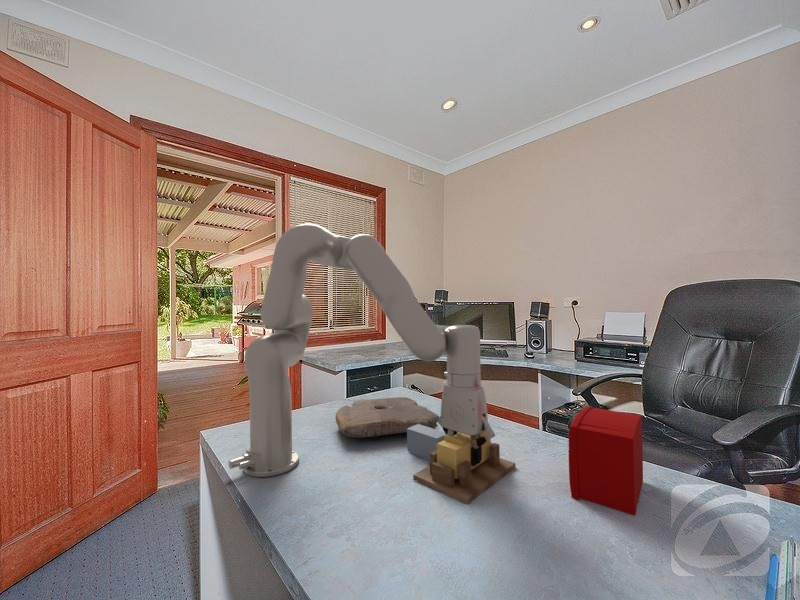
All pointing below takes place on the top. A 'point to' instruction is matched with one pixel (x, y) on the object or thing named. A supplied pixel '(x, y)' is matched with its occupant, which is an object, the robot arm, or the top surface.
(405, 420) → the stone slab
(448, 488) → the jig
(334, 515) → the top surface
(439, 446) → the tan toy brick
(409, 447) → the grey rectangular block
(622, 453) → the fire alarm
